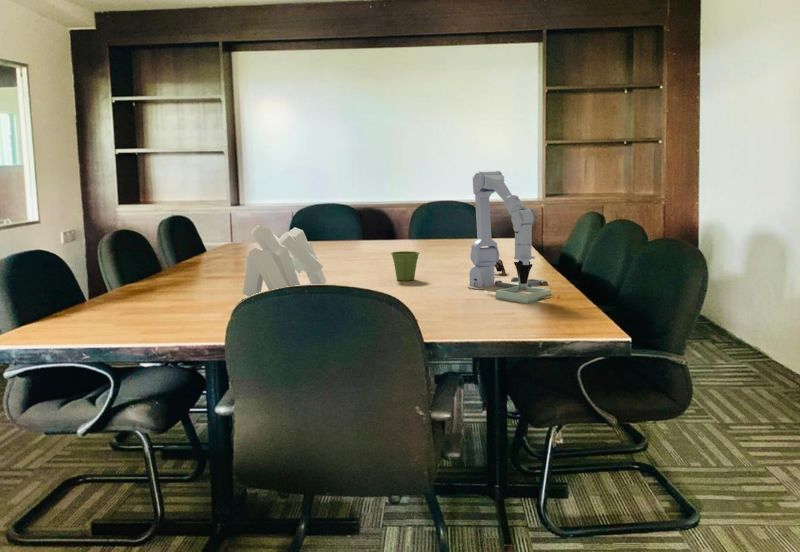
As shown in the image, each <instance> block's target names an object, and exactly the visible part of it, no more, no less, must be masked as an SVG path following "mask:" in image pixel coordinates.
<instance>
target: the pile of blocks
mask: <svg viewBox="0 0 800 552" xmlns="http://www.w3.org/2000/svg"><path fill="white" fill-rule="evenodd" d="M249 233H250V235H251V236H252V237H253V238H254V239H255V241H256V242H257V243H258V245H259V247H260V248H261V249H260V248H257V247H253V248H252V249H251V250H249V251H248V255H247V257H246V258H245V259H244V262H243V263H244V264H245V265H246V270H245V277H244V282H243V287H242V295H244V296H246V297H249V296H251V295H253V294H256V293H259V292H261V293H262V288H263V282H264V284H265V285H266V287H267V289H268V291H269V290H272V289H276V288H282V287H287V286H295V285H300V286H301V283H300V281H299V278H298V275H297V273H298V274H301V273H302V272H305V273H306V276H307V278H308V280H309V283H310V285H311V284H325V285H326V283H327V279H326V276H325V275H324V273H323V272H324V271H323V268H324V266H323V264H321V262H320V261H319V260H318V258H317V255H316V252H315V250H314V247H313V245H312V243H311V241H308V239H307V236H306V234H305V232H304V230H303V229H300V228H298V227H293V228H292V229H290V230H289V231H285V232H284V233H283V234H282V235H281V236H280V237H279V238H278V236H277V235H275V234H274V233H273V231H272V230H271V229H270V228H267V227H263V226H260V225H259V224H257V225H256V226H254V227H253V228H252V229H251V230H250V232H249Z"/></svg>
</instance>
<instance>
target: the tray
mask: <svg viewBox="0 0 800 552" xmlns="http://www.w3.org/2000/svg"><path fill="white" fill-rule="evenodd" d="M520 291H521V292H522V291H523V292H528V293H529V292H531V293H529V294H527V293H519V292H520ZM548 295H552V289H547V288H540V287H528V290H519V286H515V287H511V288H510V287H505V288H501V289H497V290H495V300H498V301H499V300H500V301H505V302H506V301H507V302H512V303H513V302H514V303H520V304H526V305H527V304H533V303H537V302H541V301H545V300H549V299H552V297H551V296H549V297H544V296H548Z"/></svg>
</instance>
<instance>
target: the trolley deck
mask: <svg viewBox="0 0 800 552" xmlns="http://www.w3.org/2000/svg"><path fill="white" fill-rule="evenodd" d="M548 285H549V283H548V281H547V280H546V281H545V280H542V279H534V278H530V279H529V278H528V287H534V288H536V287H538V286H542V287H544V286H545V287H546V286H548ZM494 286H497V287H504V288H511V287H515V286H519V279H518V277H515V276H514V277H512V278H511V280H510V282H509V283H508V282H503V281H502V280H498V279H497V280H495V281H494Z"/></svg>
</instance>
